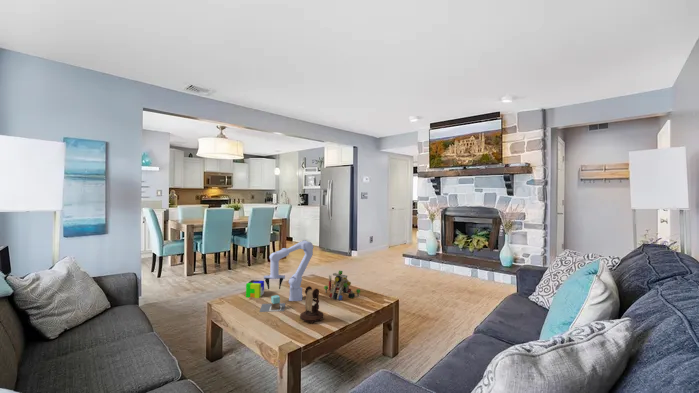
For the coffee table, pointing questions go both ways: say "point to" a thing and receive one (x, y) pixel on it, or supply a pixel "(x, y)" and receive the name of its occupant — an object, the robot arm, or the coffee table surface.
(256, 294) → the puzzle toy
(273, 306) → the walnut block
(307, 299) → the wooden figurine on stand
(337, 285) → the toy construction set
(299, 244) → the robot arm
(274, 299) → the teal block
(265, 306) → the grey flat plate
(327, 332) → the coffee table surface
